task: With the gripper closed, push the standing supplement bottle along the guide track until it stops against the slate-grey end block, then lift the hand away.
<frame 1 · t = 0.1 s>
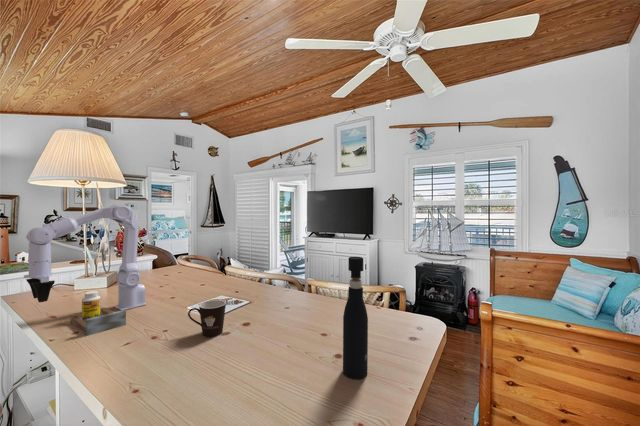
hand: (40, 299, 100), 10 cm above the counter, tool pointing down, fingers open, 7 cm apart
coffee mug: (209, 333, 97), on the counter
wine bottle: (355, 372, 74), on the counter
guide track: (97, 322, 105), on the counter
supplement bottle: (91, 319, 109), on the counter
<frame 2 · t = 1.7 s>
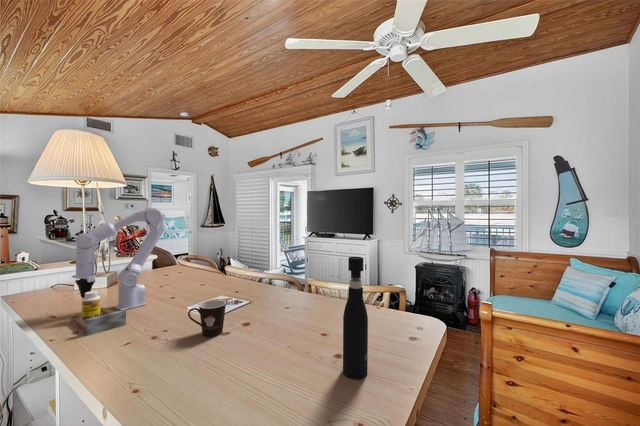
hand: (85, 297, 113), 7 cm above the counter, tool pointing down, fingers closed
nothing on the counter moved.
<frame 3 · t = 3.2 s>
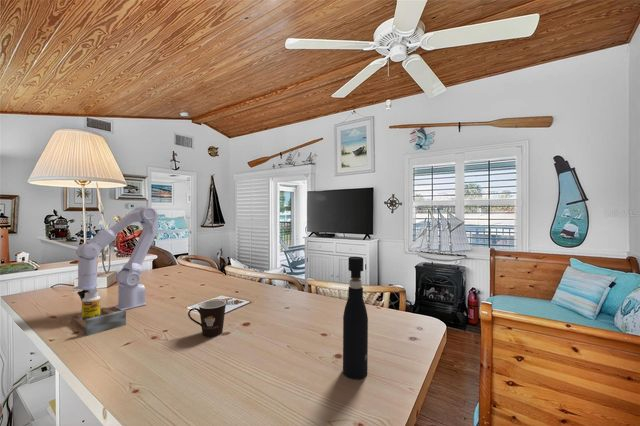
hand: (87, 308, 111), 3 cm above the counter, tool pointing down, fingers closed
supplement bottle: (91, 319, 109), on the counter, touching gripper
everything else where it was.
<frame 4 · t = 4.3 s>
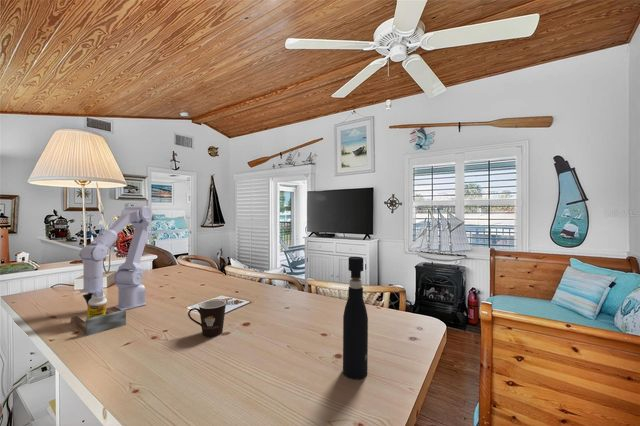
hand: (93, 312, 107), 3 cm above the counter, tool pointing down, fingers closed
supplement bottle: (95, 320, 106), point 1 cm above the counter, touching gripper
everything else where it was.
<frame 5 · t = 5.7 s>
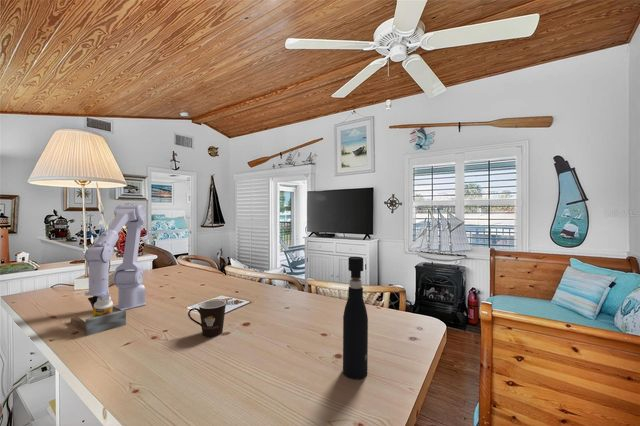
hand: (98, 315, 104), 3 cm above the counter, tool pointing down, fingers closed, pressing on supplement bottle
supplement bottle: (101, 324, 102), point 1 cm above the counter, touching gripper
everything else where it was.
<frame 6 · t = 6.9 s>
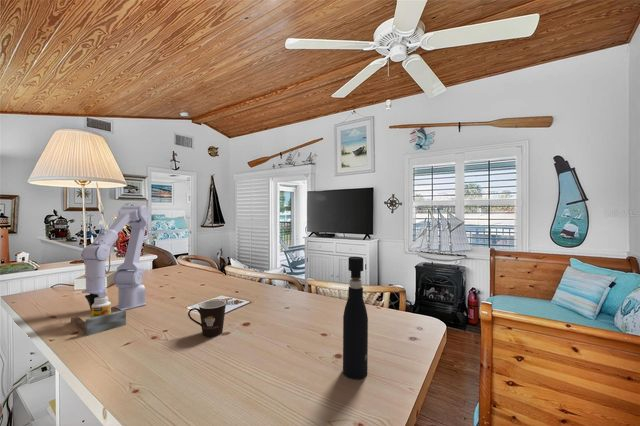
hand: (95, 313, 106), 3 cm above the counter, tool pointing down, fingers closed
supplement bottle: (101, 326, 102), on the counter
everything else where it was.
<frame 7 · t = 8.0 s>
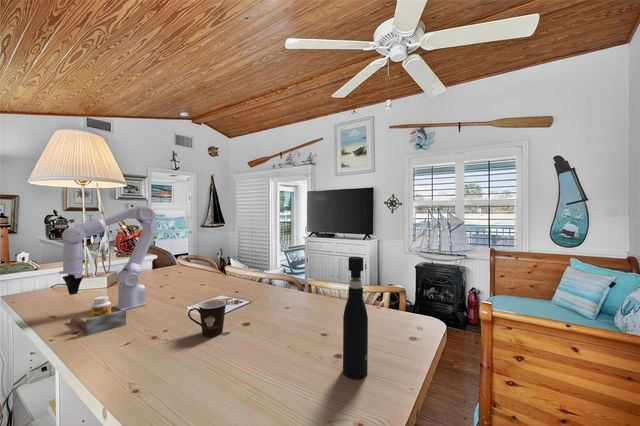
hand: (73, 294, 109), 9 cm above the counter, tool pointing down, fingers closed
nothing on the counter moved.
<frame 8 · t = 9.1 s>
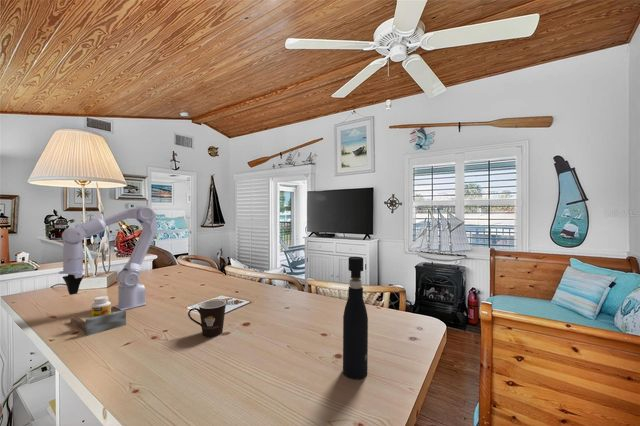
hand: (73, 294, 109), 9 cm above the counter, tool pointing down, fingers closed
nothing on the counter moved.
at the end: supplement bottle 0.7 cm from the target spot, on the counter; supplement bottle tilted 0°; the gripper is holding nothing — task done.
